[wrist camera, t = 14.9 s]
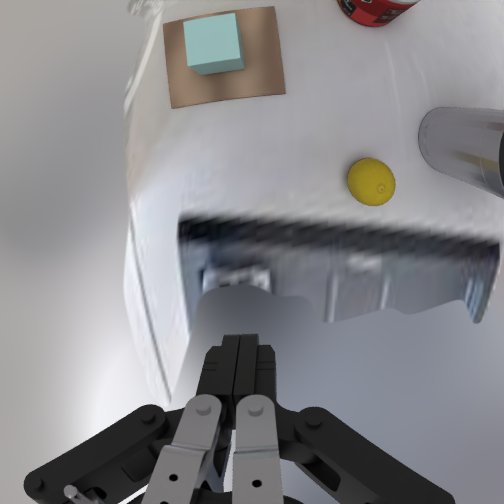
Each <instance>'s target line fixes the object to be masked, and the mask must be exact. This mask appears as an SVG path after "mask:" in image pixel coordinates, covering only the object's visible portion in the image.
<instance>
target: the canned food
mask: <svg viewBox="0 0 504 504" xmlns="http://www.w3.org/2000/svg"><path fill="white" fill-rule="evenodd" d="M419 1H420V0H338V2H339V5H340V7H341V9H342V10H343V11H344V13H345V14H346V15H347V16H349V17H350V18H351V19H353V20H354V21H356V22H358V23H360V24H363V25H366V26H383V25H385V24H388V23H389V22H390V21H392V20H393V19H395V18H396V17H397V16H399V15H400V14H402V13H403V12H405V11H406V10H407V9H409V8H410V7H412V6H413V5H415V4H416V3H418V2H419Z"/></svg>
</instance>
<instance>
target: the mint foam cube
mask: <svg viewBox="0 0 504 504" xmlns="http://www.w3.org/2000/svg"><path fill="white" fill-rule="evenodd" d="M183 24H184V34H185V45H186V54H187V64H188V67H190V68H191V69H193V70H194V71H196V72H197V73H199V74H200V75H206V74H212V73H219V72H226V71H233V70H241V69H245V62H244V53H243V45H242V37H241V30H240V27H239V24H238V21H237V18H236V15H235V13H231V14H224V15H217V16H211V17H206V18H200V19H195V20H190V21H185V22H183Z"/></svg>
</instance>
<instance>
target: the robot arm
mask: <svg viewBox="0 0 504 504" xmlns="http://www.w3.org/2000/svg"><path fill="white" fill-rule="evenodd" d="M419 146H420V150H421V153H422V155H423V157H424V159H425V160H426V161H427V163H428V164H429V165H430V166H431V167H432V168H434V169H436V170H438V171H440V172H442V173H445V174H448V175H450V176H452V177H455V178H457V179H460V180H462V181H465V182H467V183H469V184H472V185H474V186H476V187H479V188H481V189H483V190H485V191H488V192H490V193H492V194H494V195H496V196H499V197H501V198H503V199H504V110H494V109H477V108H436V109H434V110H432V111H430V112H429V113H428V114H427V115H426V116H425V118H424V119H423V121H422V123H421V125H420V129H419ZM232 430H236V450H235V452H234V454H233V486H232V487H233V488H232V491H230V492H224V486H223V482H224V477H225V472H226V467H227V463H228V459H229V454H230V450H231V435H232ZM280 458H281V459H284V460H289V461H293V462H295V464H296V465H297V466H298V467H299V468H300V469H301V470H302V471H303V472H304V473H305V474H306V475H308V476H309V477H310V478H311V479H312V480H313V481H315V482H316V483H317V484H318V485H319V486H320V487H321V488H322V489H324V490H325V491H326V492H327V493H328V494H330V495H331V496H332V497H333V498H334V499H335V500H337V501H338V502H339V503H340V504H455V500H454V498H453V497H452V495H451V494H450V493H448V492H447V491H445V490H443V489H442V488H440V487H438V486H437V485H435V484H434V483H432V482H430V481H429V480H427V479H426V478H424V477H422V476H421V475H419V474H418V473H416V472H414V471H413V470H411V469H410V468H408V467H407V466H405V465H404V464H402V463H401V462H399V461H398V460H396V459H395V458H393V457H392V456H390V455H389V454H387V453H386V452H384V451H383V450H381V449H380V448H379V447H377V446H376V445H374V444H373V443H371V442H370V441H368V440H367V439H366V438H364V437H363V436H361V435H360V434H359V433H357V432H356V431H354V430H353V429H352V428H350V427H349V426H348V425H346V424H345V423H343V422H342V421H341V420H339V419H338V418H337V417H335V416H334V415H333V414H331V413H330V412H329V411H327V410H326V409H324V408H320V407H308V408H305V409H303V410H301V411H300V412H295V411H290V410H287V409H285V408H283V407H281V406H280V405H279V404H278V403H277V401H276V361H275V352H274V350H273V349H272V347H271V345H259V336H258V334H242V335H240V334H238V335H224V337H223V341H222V346H212V348H211V349H210V350H209V351H208V352H207V353H206V356H205V360H204V365H203V368H202V373H201V376H200V380H199V384H198V388H197V392H196V396H195V397H193V398H192V399H190V400H189V401H188V403H187V404H186V406H185V407H184V408H182V409H178V410H173V411H168V412H164V410H163V409H162V408H161V407H159V406H157V405H152V404H151V405H150V404H149V405H144V406H141V407H139V408H138V409H136V410H135V411H133V412H132V413H130V414H128V415H127V416H126V417H124V418H122V419H120V420H119V421H117V422H116V423H114V424H113V425H111V426H110V427H108V428H106V429H104V430H103V431H101V432H100V433H98V434H96V435H95V436H93V437H91V438H90V439H88V440H86V441H85V442H83V443H81V444H80V445H78V446H76V447H75V448H73V449H71V450H69V451H68V452H66V453H64V454H62V455H61V456H59V457H57V458H55V459H54V460H52V461H50V462H48V463H46V464H45V465H43V466H41V467H39V468H37V469H35V470H34V471H32V472H30V473H29V474H28V475H27V476H26V478H25V480H24V490H25V492H26V494H27V495H28V496H29V497H30V498H32V499H33V500H34V501H36V502H37V503H39V504H118V503H120V502H121V501H123V500H124V499H126V498H127V497H129V496H131V495H132V494H134V493H135V492H137V491H138V490H139V489H141V488H143V487H144V486H146V485H147V484H148V483H149V484H148V487H147V489H146V492H144V493H142V494H140V495H139V496H137V497H136V498H134V499H133V500H131V501H130V502H129V503H127V504H303V503H302V502H300V501H298V500H296V499H293V498H291V497H288V496H284V495H283V491H282V481H281V470H280Z"/></svg>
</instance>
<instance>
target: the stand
mask: <svg viewBox="0 0 504 504" xmlns="http://www.w3.org/2000/svg"><path fill="white" fill-rule="evenodd" d="M231 13H235V15H236V18H237V21H238V24H239V27H240V30H241V37H242V45H243V53H244V62H245V69H241V70H233V71H226V72H219V73H212V74H206V75H200V74H199V73H197V72H196V71H194V70H193V69H191V68H190V67H188V64H187V54H186V45H185V34H184V24H183V22H185V21H190V20H195V19H200V18H206V17H211V16H217V15H224V14H231ZM163 32H164V44H165V55H166V65H167V74H168V83H169V92H170V101H171V108H173V109H174V108H179V107H184V106H190V105H196V104H202V103H208V102H215V101H222V100H229V99H237V98H245V97H255V96H265V95H277V94H285V85H284V76H283V68H282V60H281V52H280V44H279V37H278V30H277V23H276V16H275V9H274V6H272V7H259V8H249V9H240V10H233V11H225V12H219V13H213V14H207V15H201V16H196V17H191V18H186V19H182V20H177V21H173V22H169V23H165V24H163Z"/></svg>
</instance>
